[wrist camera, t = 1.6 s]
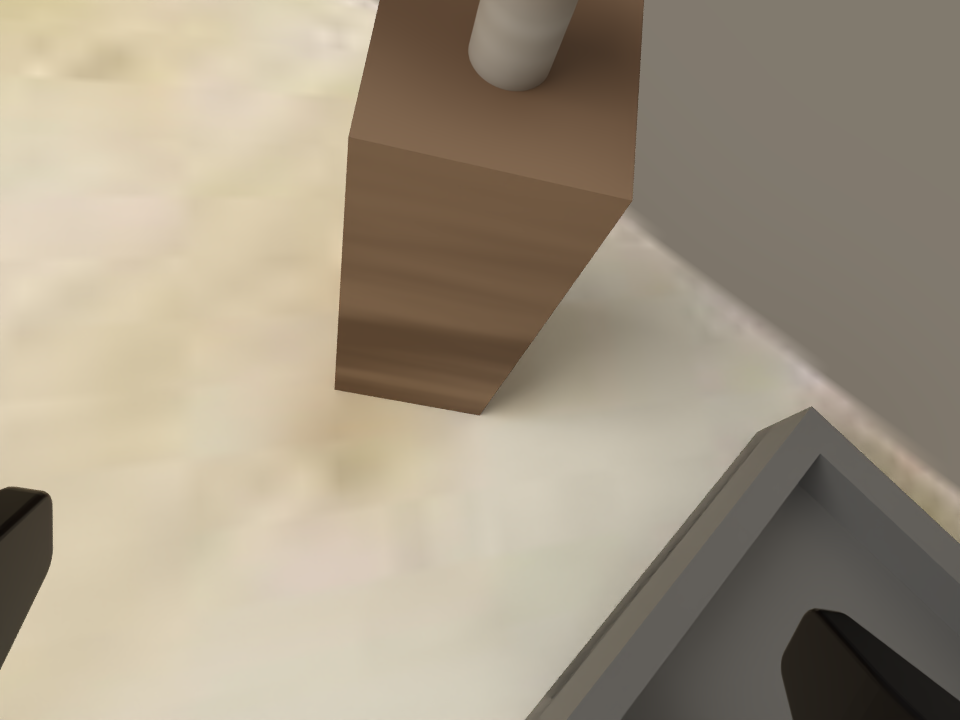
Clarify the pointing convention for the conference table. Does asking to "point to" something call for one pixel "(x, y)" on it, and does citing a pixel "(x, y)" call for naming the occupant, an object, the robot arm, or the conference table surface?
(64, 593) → the conference table surface
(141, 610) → the conference table surface
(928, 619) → the tray
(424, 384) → the block
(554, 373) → the conference table surface
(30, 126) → the conference table surface
